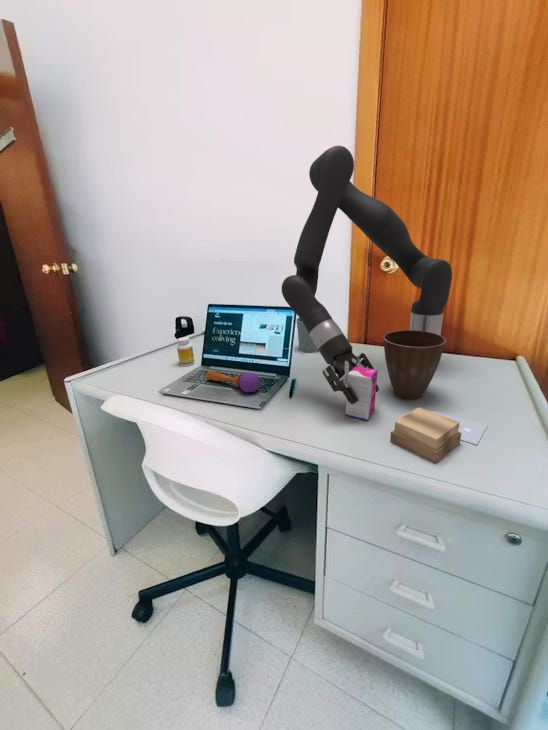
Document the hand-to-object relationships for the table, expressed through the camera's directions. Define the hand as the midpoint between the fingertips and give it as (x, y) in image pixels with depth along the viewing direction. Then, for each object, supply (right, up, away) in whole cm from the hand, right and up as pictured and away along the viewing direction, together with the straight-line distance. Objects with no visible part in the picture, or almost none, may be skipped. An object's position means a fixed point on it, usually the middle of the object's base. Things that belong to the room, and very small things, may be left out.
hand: (366, 397), depth 83 cm
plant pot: (+15, 0, +12) cm, 19 cm away
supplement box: (-1, -5, +3) cm, 5 cm away
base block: (+10, -9, -10) cm, 16 cm away
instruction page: (+18, -6, -5) cm, 20 cm away
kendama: (-35, +1, +23) cm, 42 cm away
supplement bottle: (-54, +8, +43) cm, 70 cm away
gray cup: (-8, +14, +51) cm, 54 cm away
